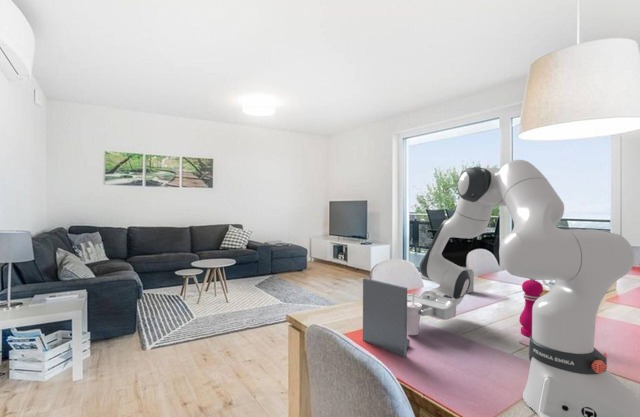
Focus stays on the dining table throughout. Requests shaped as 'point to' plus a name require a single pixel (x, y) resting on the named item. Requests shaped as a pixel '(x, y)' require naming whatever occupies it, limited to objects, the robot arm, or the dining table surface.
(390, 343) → the gray menu stand
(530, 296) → the pepper mill
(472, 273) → the can
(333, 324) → the dining table surface
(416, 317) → the smoothie
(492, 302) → the dining table surface
